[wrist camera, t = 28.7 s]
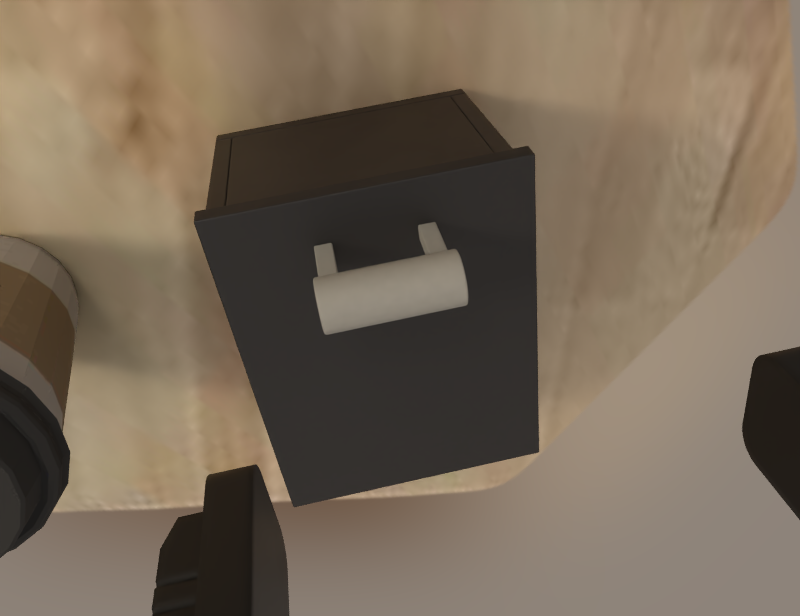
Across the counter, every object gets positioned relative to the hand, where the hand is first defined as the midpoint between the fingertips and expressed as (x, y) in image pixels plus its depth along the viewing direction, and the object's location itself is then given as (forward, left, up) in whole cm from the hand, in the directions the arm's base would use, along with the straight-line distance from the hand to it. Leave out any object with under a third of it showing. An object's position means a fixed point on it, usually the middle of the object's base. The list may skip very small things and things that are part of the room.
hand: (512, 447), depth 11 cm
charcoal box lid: (+9, -6, -17) cm, 20 cm away
